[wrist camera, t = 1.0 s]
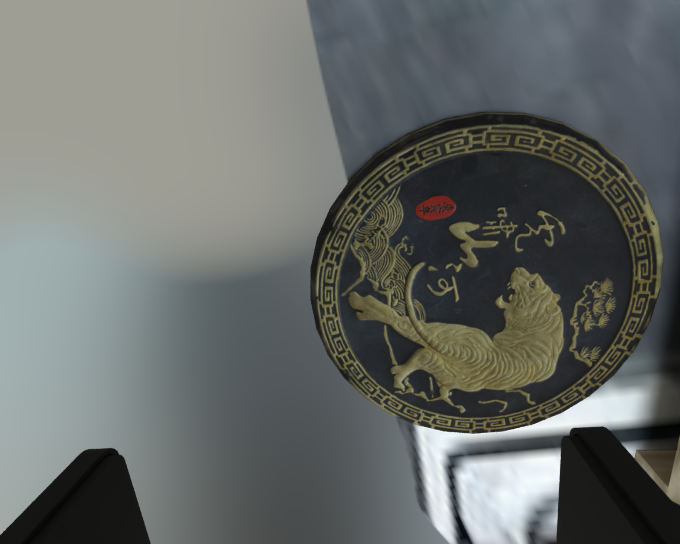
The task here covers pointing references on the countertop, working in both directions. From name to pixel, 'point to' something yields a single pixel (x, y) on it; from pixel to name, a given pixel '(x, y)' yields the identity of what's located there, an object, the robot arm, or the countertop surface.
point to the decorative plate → (486, 272)
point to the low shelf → (663, 469)
